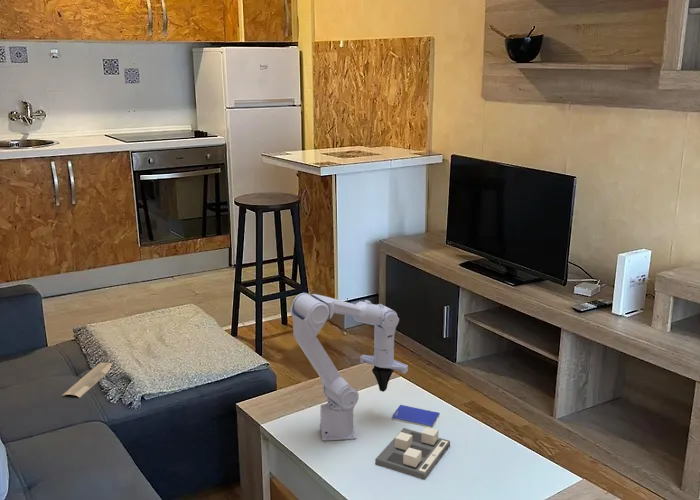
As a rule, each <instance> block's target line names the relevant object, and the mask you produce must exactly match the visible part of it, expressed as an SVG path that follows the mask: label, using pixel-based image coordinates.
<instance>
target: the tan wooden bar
mask: <svg viewBox="0 0 700 500" xmlns="http://www.w3.org/2000/svg"><path fill="white" fill-rule="evenodd" d="M112 364H113V363H110V362H99V363H98V364H97V365H95V366H94V367H93V368H92V369H91V370H89V372H87V373H86V374H85V375H83V377H81V378H80V379H79V380H78V381H76V382H75V383H74V384H73V385H72V386H71V387H70V388H69V389H67V390H66V391H65V392H64V393H62V394H61V397H65V396H67V395H71V396H77V397H78V398H79V399H81V398H82V397H83V396H84V394H86V393H87V392H88V391H89V390H90V389H91V388H93V387H94V386H95V385H96V384H97V383H98V382H99V381H101V380H102V378H104V377H105V376H106V375H107V374H108V373H109V372H110V371H111V370H110V368H111V365H112ZM109 370H110V371H109ZM108 371H109V372H108Z"/></svg>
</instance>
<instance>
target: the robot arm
mask: <svg viewBox="0 0 700 500" xmlns="http://www.w3.org/2000/svg"><path fill="white" fill-rule="evenodd" d="M289 312H290V314H291V317H292V329H293V330H292V333H293V338H294V339H295V341H296V343H297V344H298V346H299V348H300V349H301V350H302V351H303V353H304V355H305V357H306V358H307V359H308V361H309V363H310V365H311V366H312V367H313V369H314V370H315V372H316V373H317V374H318V376H319V378H320V380H321V381H320V384H321V385H322V390H323V391H322V392H323V395H324V396H325V397H326V401H327V402H326V403H324V404H320V408H319V409H320V418H319V419H320V422H319V430H320V433H321V440H322V441H323V442H324V441H326V442H327V441H341V440H356V439H357V435H356V431H355V427H354V409H355V406H356V405H357V403H358V401H359V392H358V390H356V388H354V387H351V386H350V384H349V383H348V381H346V379H344V377H343V376H342V375H341V373H340V372H339V370H338V369H337V367H336V366H335V364H334V363H333V360H331V357H330V356H329V355H328V353H327V351H326V350H325V348H324V346H323V345H322V343H321V342H320V340H319V338H318V337H317V336H318V334H319V333H320V332H321V330H322V328H323V327H324V326H325V324H326V322H327V320H328V319H332V317H333V316H334V314H338V315H343V316H345V315H346V316H349V317H351V316H352V318H353V319H354V321H355V322H356V323H361V324H366V325H370V326H371V325H372V326H374V327H373V328H374V329H373V332H374V333H373V334H374V336H373V337H374V339H373V340H374V341H373V343H374V344H373V350H374V351H373V355H367V354H362V355H360V356H359V363H360V364H367V365H373V367H372V369H371V370H372V371H371V372H372V373H373V375H374V378H375V379H376V381H377V385H378V389H379V392H385V391H387V390H388V389H387V388H388V385H389V382H390V378H391V376H392V375H393V373H394V371H396V372H401V374H406V373H407V372H408V371H409V365H408V364H405V363H403V362H400V361H399V360H397V359H394V358H395V356H394V355H395V334H396V329H397V327H398V324H399V322H400V318H399V317H398V313H397V312H396V311H395V310H394V309H391V308H390V307H388V306H386V305H383V304H382V303H378V304H374V303H372V301H370V300H368V299H365V300H364V301H360V300H359V301H358V302H356V303H355V304H354V303H351V302H348V301H343V300H341V299H340V300H339V299H337V298H333V297H330V296H325V295H321V294H317V293H311V294H309V293H307V292H302V293H299V294H298V295H296V296H295V297H294V299H293V300H292V303H291V306H290V309H289Z"/></svg>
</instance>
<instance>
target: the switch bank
mask: <svg viewBox="0 0 700 500" xmlns="http://www.w3.org/2000/svg"><path fill="white" fill-rule="evenodd" d="M400 432H403V433H407V434H410V435H412V445H411V446H410V447H409V448H413V449H416V450H420V451H422V453H421V461H420V463H419V464H418V465H417V466H416V467H412V466H409V465H406V464H403V455H404V453H405V452H406V450H403V449H399V448H396V447H395V438H396V436H395V437H394V438H393V439H392V440H391V441H390V442H389V443H388V445H386V447H385V448H384V449H383V450H382V451H381V452H380V453H379V455H377V457H376V458H375V459H374V460H375V461H374V462H375V465H377V466H381V467H384V468H386V469H390V470H393V471H396V472H400V473H403V474H406V475H409V476H412V477H415V478H418V479H422V480H426V479H427V477H429V475H430V474H431V472H432V470H433V469H434V468H435V467H436V465H437V463H438V462H439V461H440V460H441V459H442V457H443V456H444V455H445V453H446V451H447V450H448V449H449V447H450V446H451V440H449V439H445V438H441V437H438V440H437V441H436V442H435V444H434V445H431V444H427V443H424V442H421V439H422V432H420V431H416V430H413V429H409V428H406V427H403V428H402V429H401V430H400V431H399V433H400Z"/></svg>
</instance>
